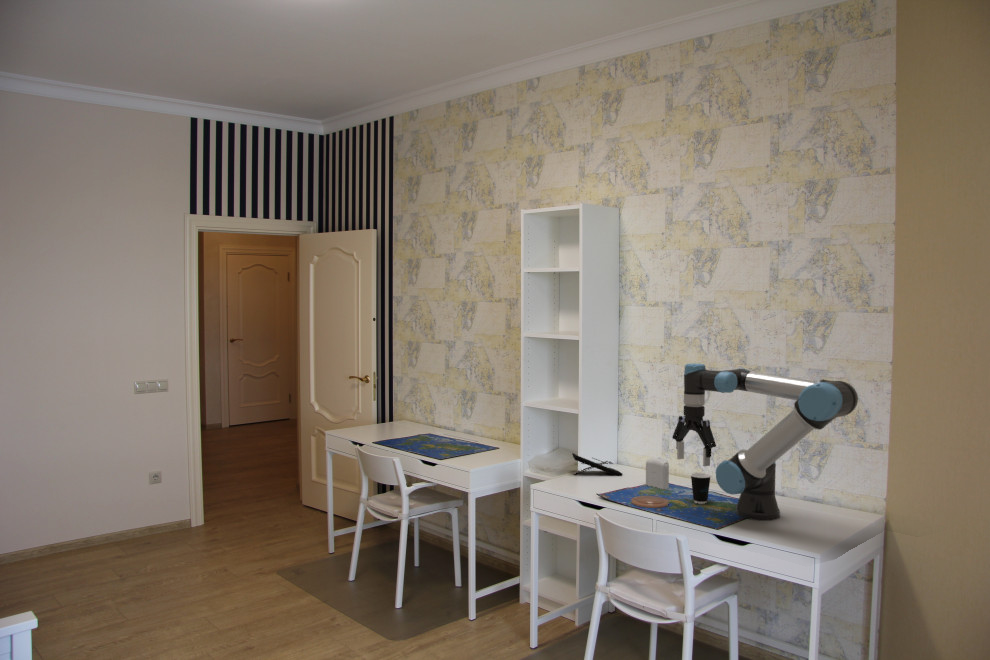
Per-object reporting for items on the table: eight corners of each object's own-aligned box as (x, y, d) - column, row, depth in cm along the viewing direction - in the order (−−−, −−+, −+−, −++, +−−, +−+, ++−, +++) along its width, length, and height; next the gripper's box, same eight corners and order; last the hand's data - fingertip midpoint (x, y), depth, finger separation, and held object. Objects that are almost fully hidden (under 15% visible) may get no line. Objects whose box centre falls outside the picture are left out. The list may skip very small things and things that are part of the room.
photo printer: (644, 486, 308) (644, 457, 307) (650, 484, 310) (650, 455, 310) (663, 490, 300) (664, 461, 300) (670, 489, 303) (670, 459, 302)
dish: (676, 505, 277) (676, 501, 277) (647, 509, 271) (647, 506, 271) (652, 496, 290) (652, 493, 290) (623, 501, 283) (623, 497, 283)
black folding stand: (618, 473, 334) (618, 451, 334) (622, 478, 324) (623, 455, 324) (571, 473, 333) (571, 451, 333) (574, 478, 324) (574, 455, 323)
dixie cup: (706, 506, 276) (706, 478, 276) (686, 503, 281) (687, 475, 280) (713, 502, 282) (714, 474, 282) (694, 498, 287) (694, 471, 287)
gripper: (726, 408, 261) (725, 467, 261) (678, 400, 283) (677, 455, 283) (711, 410, 257) (710, 469, 258) (663, 401, 279) (662, 457, 280)
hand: (693, 462), depth 271 cm, fingers open, 13 cm apart
